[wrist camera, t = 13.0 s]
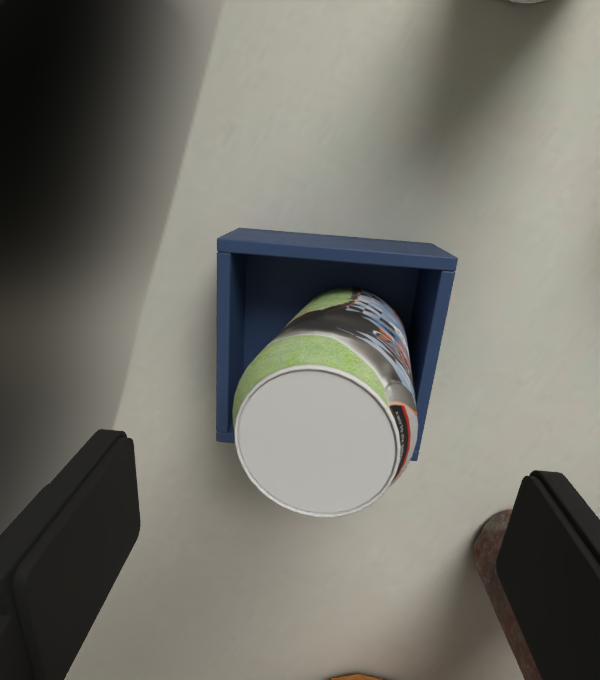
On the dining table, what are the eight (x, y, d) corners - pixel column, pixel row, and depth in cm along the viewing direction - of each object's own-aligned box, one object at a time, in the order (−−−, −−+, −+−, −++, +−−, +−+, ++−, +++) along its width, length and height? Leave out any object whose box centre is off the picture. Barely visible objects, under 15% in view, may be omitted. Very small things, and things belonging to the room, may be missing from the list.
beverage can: (380, 397, 24) (425, 577, 13) (258, 363, 24) (197, 517, 13) (420, 296, 22) (514, 408, 11) (286, 257, 22) (242, 331, 11)
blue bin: (238, 227, 22) (216, 237, 18) (432, 243, 22) (458, 257, 18) (234, 399, 26) (215, 442, 21) (402, 414, 25) (417, 461, 21)
